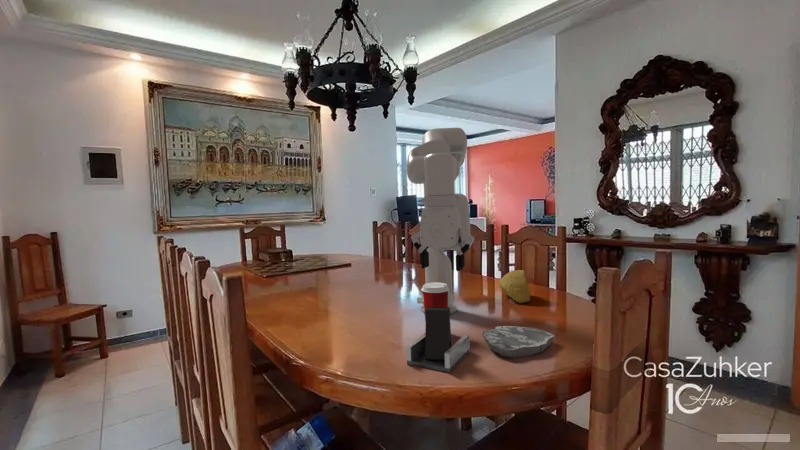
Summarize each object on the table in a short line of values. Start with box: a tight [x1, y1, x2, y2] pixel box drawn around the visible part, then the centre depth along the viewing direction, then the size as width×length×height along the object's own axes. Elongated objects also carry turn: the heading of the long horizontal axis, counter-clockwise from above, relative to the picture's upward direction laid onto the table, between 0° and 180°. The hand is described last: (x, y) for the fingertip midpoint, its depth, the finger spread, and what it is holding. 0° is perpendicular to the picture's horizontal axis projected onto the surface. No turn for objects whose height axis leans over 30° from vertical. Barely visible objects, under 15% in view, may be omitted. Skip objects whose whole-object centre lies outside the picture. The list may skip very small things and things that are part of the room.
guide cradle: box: [406, 333, 471, 374], centre depth 101 cm, size 11×14×4 cm
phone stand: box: [424, 307, 453, 361], centre depth 101 cm, size 9×6×12 cm, turn 168°
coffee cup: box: [420, 282, 449, 323], centre depth 119 cm, size 8×8×15 cm
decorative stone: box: [498, 269, 531, 304], centre depth 155 cm, size 13×15×15 cm
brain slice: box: [482, 325, 555, 359], centre depth 107 cm, size 20×17×3 cm
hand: (442, 268), depth 102 cm, fingers open, 9 cm apart
